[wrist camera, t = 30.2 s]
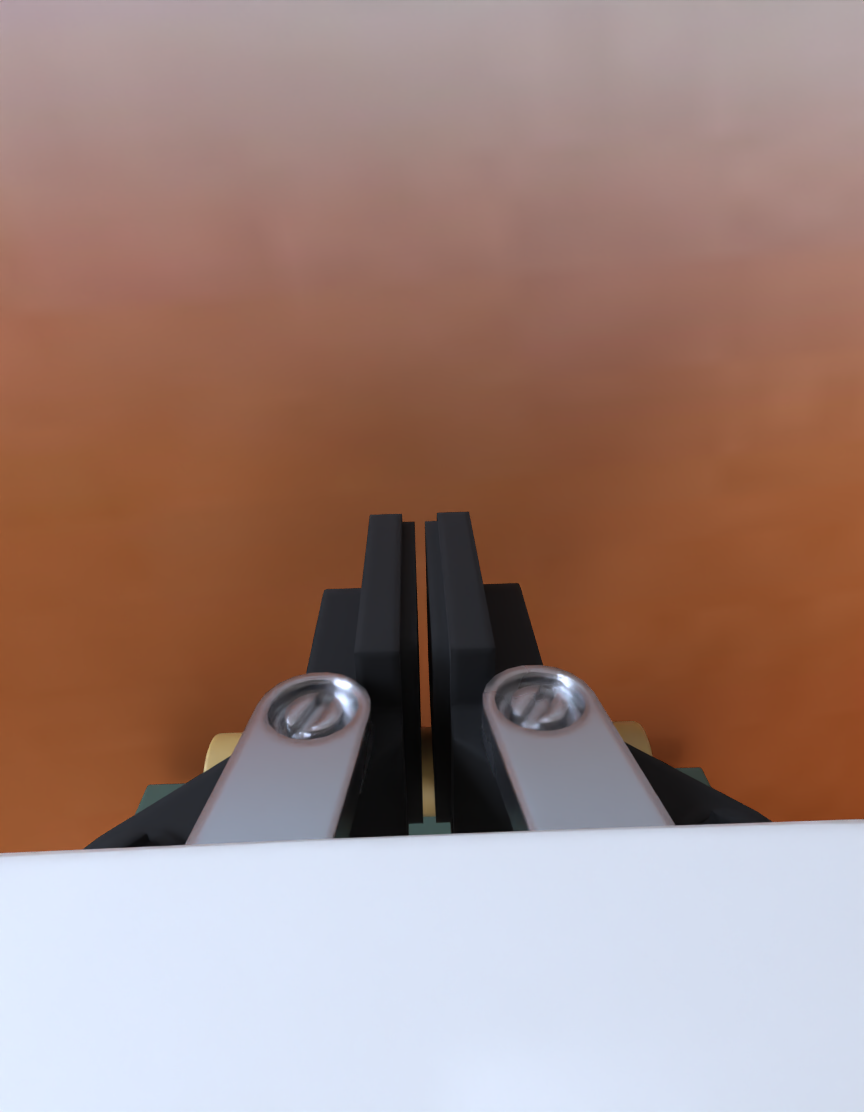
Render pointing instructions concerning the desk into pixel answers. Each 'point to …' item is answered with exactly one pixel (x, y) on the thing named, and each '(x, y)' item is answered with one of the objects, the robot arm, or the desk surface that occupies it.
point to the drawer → (227, 742)
